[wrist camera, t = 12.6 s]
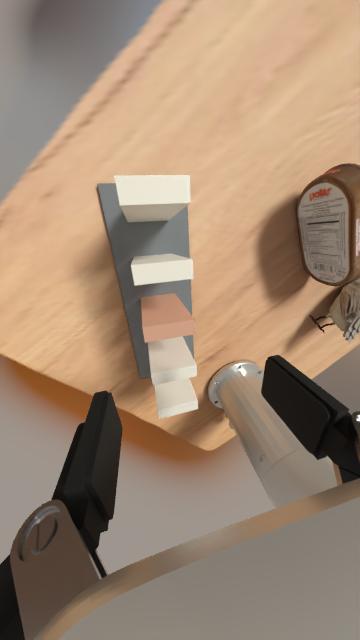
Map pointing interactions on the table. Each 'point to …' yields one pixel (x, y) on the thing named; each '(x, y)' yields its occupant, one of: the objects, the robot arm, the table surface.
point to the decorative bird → (346, 311)
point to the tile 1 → (152, 196)
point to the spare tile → (165, 318)
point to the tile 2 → (161, 268)
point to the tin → (331, 225)
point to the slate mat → (144, 242)
